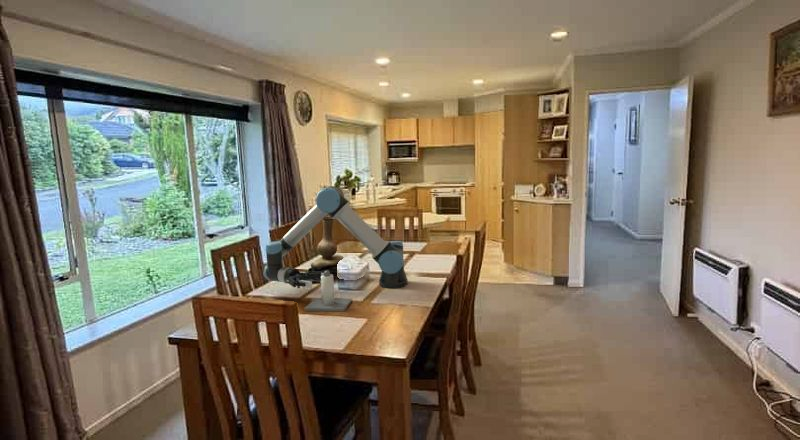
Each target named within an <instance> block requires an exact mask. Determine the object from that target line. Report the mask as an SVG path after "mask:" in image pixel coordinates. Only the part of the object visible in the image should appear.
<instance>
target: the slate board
mask: <svg viewBox="0 0 800 440" xmlns="http://www.w3.org/2000/svg"><path fill="white" fill-rule="evenodd" d="M352 299H353V298H352V297H351V298H349V297H345V298H344V297H343V298H342V297H335V303H334V304H332V305H323V303H322V297H314V299H313V300H312V301H310V303H308V304H307V305H306V306H305V307H304V311H305V312H345V311H346V309H347V308H348V307H349V305H350V304H351V302H352Z"/></svg>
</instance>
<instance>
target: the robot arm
mask: <svg viewBox="0 0 800 440" xmlns="http://www.w3.org/2000/svg"><path fill="white" fill-rule="evenodd" d="M344 195H345V194H344V192H343V190H342V189H341V188H339V187H338V186H335V185H331V186H327V187H324V188H322V189H320V190H319V191H318V193H317V194H316V197H315V205H314V206H313V207H311V209H310V210H309V211H308V212H307V213H306V214H304V216H302V218H301V219H300V220H299V221H298V222H297V223H296V224H295V225H293V227H291V228H290V230H289V231H288V232H286V234H285V235H284V236H283V237H282V238H280V239H279V240H278V241H270V242H267V243H266V245H265V254H266V266H265V267H264V269H263V272H262V273H263V274H262V275H263V277H264V278H265V279H266V280H268V281H272V282H280V283H283V284H289V285H290V286H291V287H293V288H297V289H300V288H301V287H303V288H309V289H313V281H311V282H309V281H304V280H309V279H314V278H315V279H321V275H323V273H324V271H314V272H310V271H308V270H306V271H305V272H302V271H301V272H300V270H299V269H298V268H293V267H287V266H284V262H283V261H284V260H283V257H285V256H286V255H287V254H289V253H290V251H291V250H292V249H293V248H294V247H295V246H297V244H298V243H299V242H300V241H301V240H302V239H303V238H305V237H306V235H307V234H308V233H309V232H311V230H312V229H313V228H314V227H315V226H317V224H319V223H320V222H321V221H322V218H323V217H325V216H327V215H328V216H330V217H331V218H332V219H334V220H337V221H339V223H340V224H341V225H342V226H343V227H344V228H346V230H348V231H349V232H350V234H352V235H353V237H355V238H356V239H357V240H358V242H360V243H361V244H362V246H364V248H366V249H367V250H368V251H369V252H370V253H371V256H372V257H371V258H372V259H373V260H374V261H375V262H376V263H377V264H378V266H379V268H380V270H381V273H380V276H379V280H378V282H379V286H380V287H382V288H386V289H398V288H402V287H406V286H408V283H409V281H408V277H407V273H406V271H405V264H404V263H405V262H404V243H403V242H402V241H400V240H398V241H397V240H395V241H393V240H392V241H389V240H384V239H383V238H382V237H381V235H379V234H378V233H377V232H376V231H375V230H374V229H373V228H372V227H371V226H370V225H369V224H368V223H367V222H366V221H365V220H363V218H361V216H359V214H358V213H357V212H356V211H355V210H353V208H351V206H350V201H349V200H348V199H347V198H346V197H345V196H344ZM306 277H307V278H306ZM405 285H406V286H405Z"/></svg>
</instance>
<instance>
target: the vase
mask: <svg viewBox="0 0 800 440" xmlns="http://www.w3.org/2000/svg"><path fill="white" fill-rule="evenodd" d="M321 221H322V230H323V231H322V232H323V234H322V239H321V240H320V242H319V243H318V245H317V247H316V249H317V253H318V254H319V255H320V257H318V258H317V259H315V260H313V261H311V263H310V268H308V269H307V271H310V272H314V271H324V272H325V271H329V272H330V274H332V275H333V278H335V277H336V278H337V264H338V262H339V261H340V260H342V259H343V258H344V259H345V257H344V256H343V255H341V254H336V253H337V251H338V245H337V243H336V242H335V241H334V240H333V235H332V234H333V224H334V221H335V219H332V218H331V217H330V216H329V215H328V216H327V215H326V216H325V217H323V218H322V219H321ZM306 278H307V277H306ZM303 281H309V282H317V283H318V284H321V280H318V278H314V279H309V280H303Z"/></svg>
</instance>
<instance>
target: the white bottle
mask: <svg viewBox="0 0 800 440" xmlns="http://www.w3.org/2000/svg"><path fill="white" fill-rule="evenodd" d="M320 282H321V283H320V285H321V298H322V303H323V305H332V304H334V303H335V298H336V297H335V286H334V285H335V283H334V282H335V281H334V277H333V275H332V274H330V272H329V271H325V272H324V273H323V275H321V278H320Z"/></svg>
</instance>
